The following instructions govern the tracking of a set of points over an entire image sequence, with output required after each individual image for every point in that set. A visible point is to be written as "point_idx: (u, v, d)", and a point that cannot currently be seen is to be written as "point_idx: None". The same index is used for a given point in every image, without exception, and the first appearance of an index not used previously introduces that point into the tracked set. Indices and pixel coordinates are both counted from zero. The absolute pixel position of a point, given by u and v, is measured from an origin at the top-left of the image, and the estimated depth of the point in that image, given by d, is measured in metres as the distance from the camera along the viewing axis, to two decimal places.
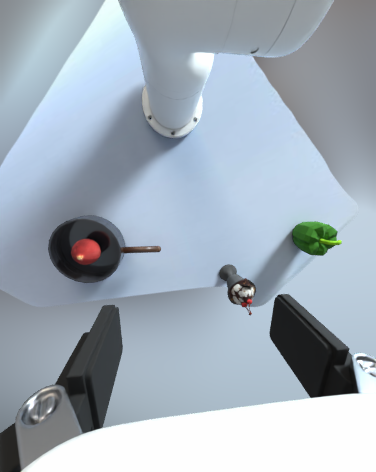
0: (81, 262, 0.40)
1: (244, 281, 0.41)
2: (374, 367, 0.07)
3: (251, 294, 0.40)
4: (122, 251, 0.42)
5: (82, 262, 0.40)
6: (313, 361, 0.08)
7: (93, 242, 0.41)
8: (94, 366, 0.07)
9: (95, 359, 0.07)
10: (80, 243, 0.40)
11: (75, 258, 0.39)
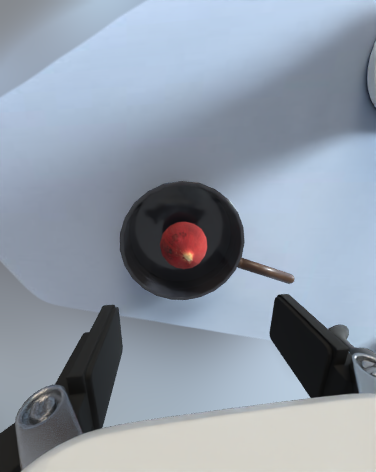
0: (180, 264, 0.21)
1: None
2: (374, 367, 0.07)
3: None
4: (240, 265, 0.24)
5: (181, 264, 0.21)
6: (313, 361, 0.08)
7: (204, 234, 0.23)
8: (94, 366, 0.07)
9: (95, 359, 0.07)
10: (189, 229, 0.21)
11: (176, 254, 0.20)
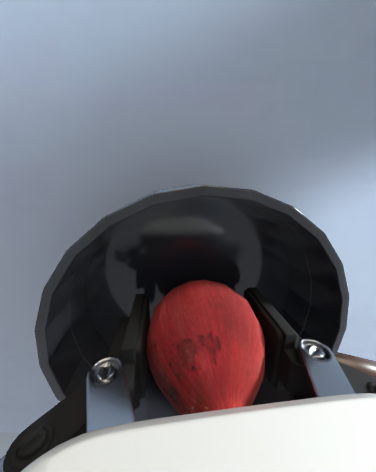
0: None
1: None
2: (315, 349, 0.08)
3: None
4: None
5: None
6: (269, 347, 0.09)
7: None
8: (141, 342, 0.08)
9: (140, 336, 0.08)
10: (227, 321, 0.07)
11: (191, 412, 0.06)
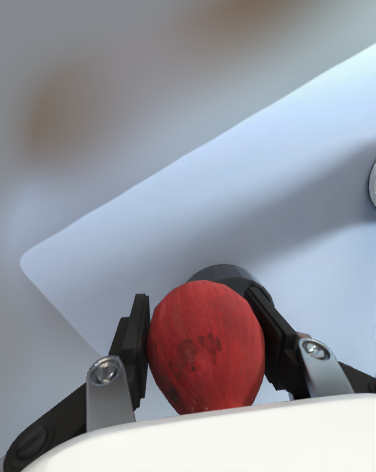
0: None
1: None
2: (315, 349, 0.08)
3: None
4: None
5: None
6: (269, 347, 0.09)
7: None
8: (141, 341, 0.08)
9: (140, 336, 0.08)
10: (227, 322, 0.07)
11: (191, 413, 0.06)
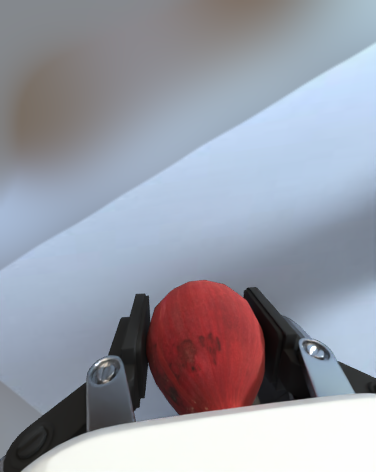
0: None
1: None
2: (315, 349, 0.08)
3: None
4: None
5: None
6: (269, 347, 0.09)
7: None
8: (141, 342, 0.08)
9: (140, 336, 0.08)
10: (227, 322, 0.07)
11: (191, 413, 0.06)
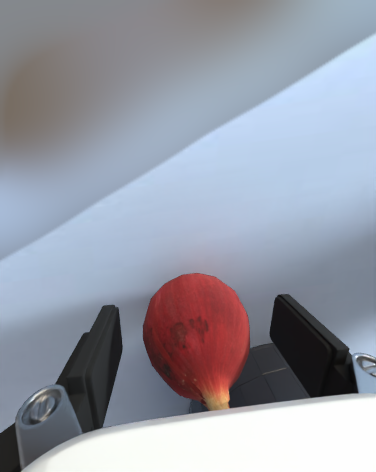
0: (192, 398, 0.08)
1: None
2: (374, 367, 0.07)
3: None
4: None
5: None
6: (313, 361, 0.08)
7: (241, 303, 0.10)
8: (94, 366, 0.07)
9: (95, 359, 0.07)
10: (214, 307, 0.08)
11: (182, 385, 0.07)
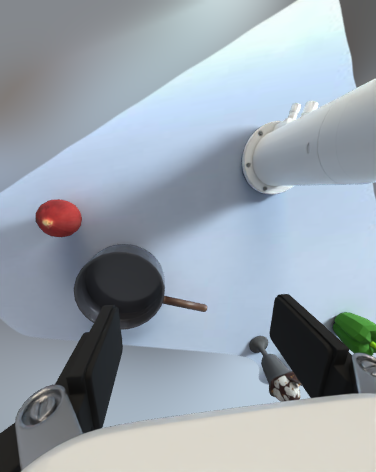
0: (47, 230, 0.26)
1: (292, 374, 0.36)
2: (374, 367, 0.07)
3: (299, 395, 0.34)
4: (164, 302, 0.34)
5: (48, 231, 0.26)
6: (313, 361, 0.08)
7: (74, 208, 0.29)
8: (94, 366, 0.07)
9: (95, 359, 0.07)
10: (54, 203, 0.27)
11: (39, 222, 0.26)
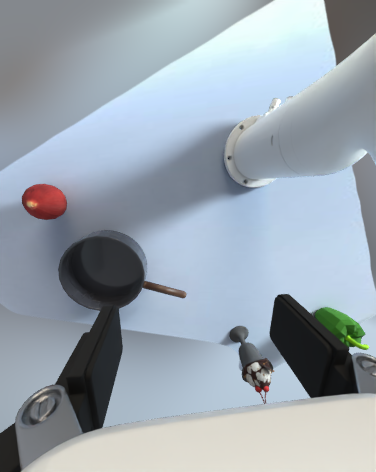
0: (31, 212, 0.28)
1: (264, 361, 0.37)
2: (374, 367, 0.07)
3: (270, 380, 0.36)
4: (144, 286, 0.36)
5: (33, 212, 0.28)
6: (313, 361, 0.08)
7: (59, 193, 0.30)
8: (94, 366, 0.07)
9: (95, 359, 0.07)
10: (40, 187, 0.29)
11: (24, 203, 0.28)
